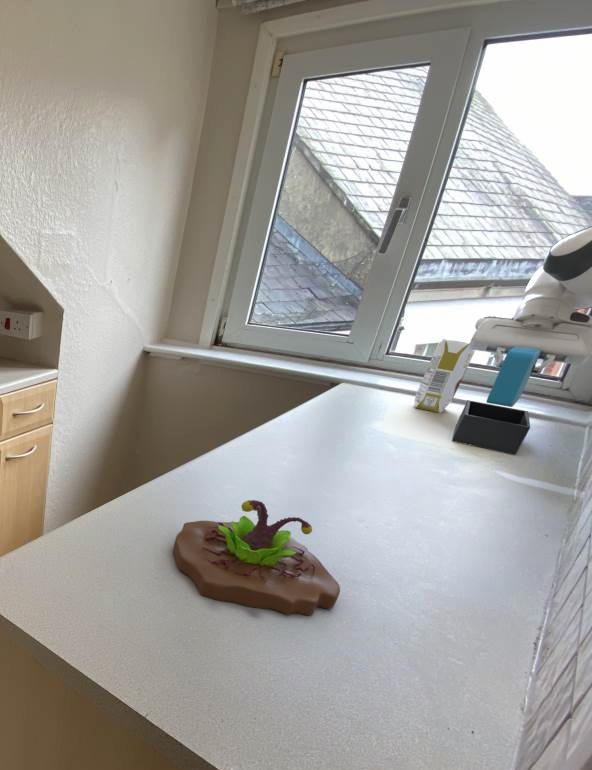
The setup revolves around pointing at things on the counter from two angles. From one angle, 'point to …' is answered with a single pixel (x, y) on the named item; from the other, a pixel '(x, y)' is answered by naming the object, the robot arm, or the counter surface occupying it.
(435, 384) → the juice carton
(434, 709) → the counter surface
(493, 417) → the box
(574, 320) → the robot arm
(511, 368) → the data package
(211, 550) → the plant
